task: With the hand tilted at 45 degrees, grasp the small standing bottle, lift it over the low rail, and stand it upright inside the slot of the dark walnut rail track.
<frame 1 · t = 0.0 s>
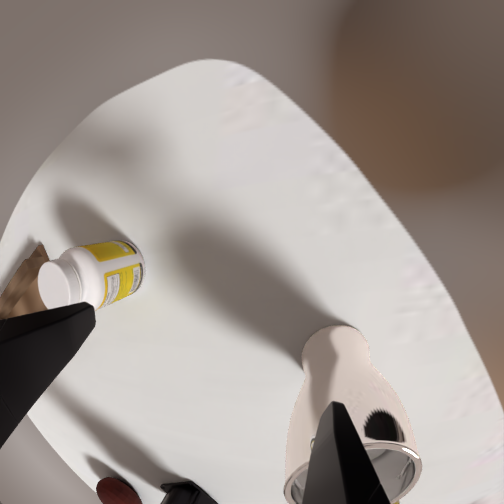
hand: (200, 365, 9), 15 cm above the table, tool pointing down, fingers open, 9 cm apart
beer glass: (335, 354, 24), on the table
walnut rail track: (39, 311, 30), on the table
supplement bottle: (125, 267, 27), on the table
potato: (129, 488, 33), on the table
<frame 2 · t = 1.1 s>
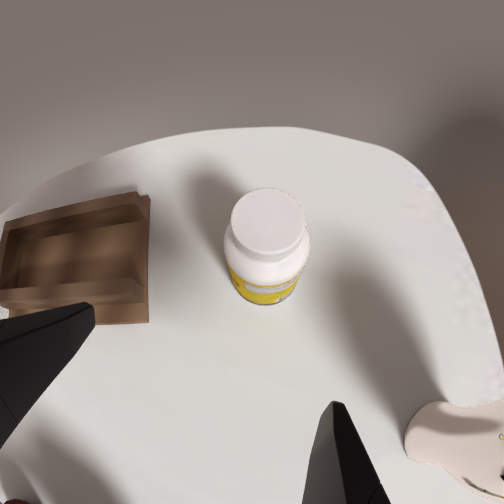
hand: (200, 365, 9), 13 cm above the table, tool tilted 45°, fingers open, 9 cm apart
beer glass: (430, 431, 18), on the table
walnut rail track: (83, 264, 25), on the table
supplement bottle: (264, 276, 24), on the table
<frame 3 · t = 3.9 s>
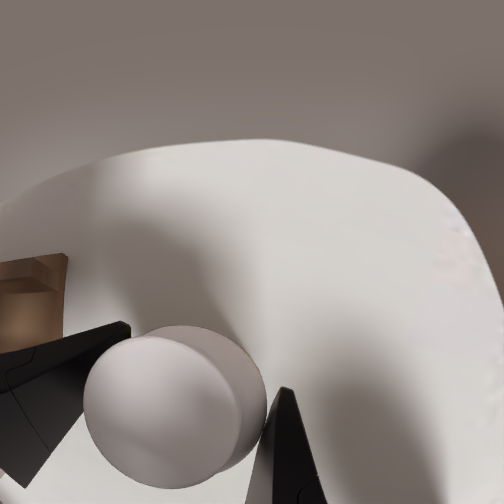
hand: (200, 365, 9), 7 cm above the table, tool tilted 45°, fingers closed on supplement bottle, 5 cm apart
walnut rail track: (1, 337, 15), on the table
supplement bottle: (213, 389, 15), on the table, touching gripper
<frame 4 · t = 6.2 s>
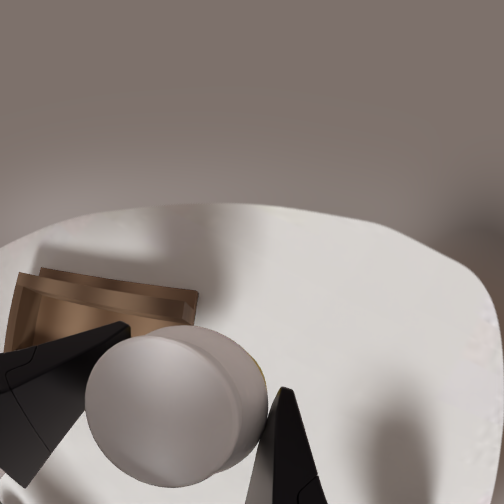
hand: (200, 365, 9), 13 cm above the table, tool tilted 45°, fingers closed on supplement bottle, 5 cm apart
walnut rail track: (110, 349, 22), on the table
supplement bottle: (216, 389, 15), point 6 cm above the table, touching gripper
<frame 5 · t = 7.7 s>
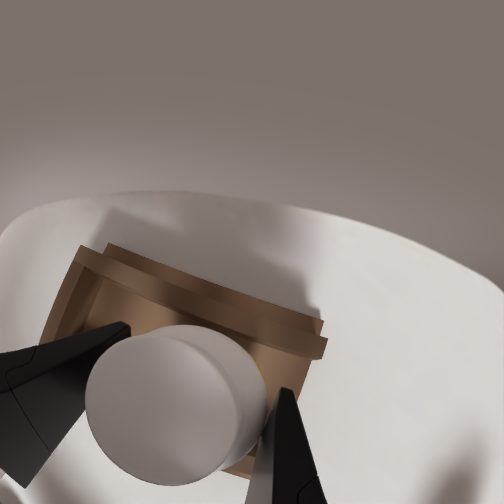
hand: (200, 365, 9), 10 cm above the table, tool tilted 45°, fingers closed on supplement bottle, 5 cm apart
walnut rail track: (194, 370, 18), on the table
supplement bottle: (216, 388, 15), point 3 cm above the table, touching gripper
when the fingers open (9 cm above the table, at t = 8.8 s): supplement bottle drops 1 cm, resting on walnut rail track.
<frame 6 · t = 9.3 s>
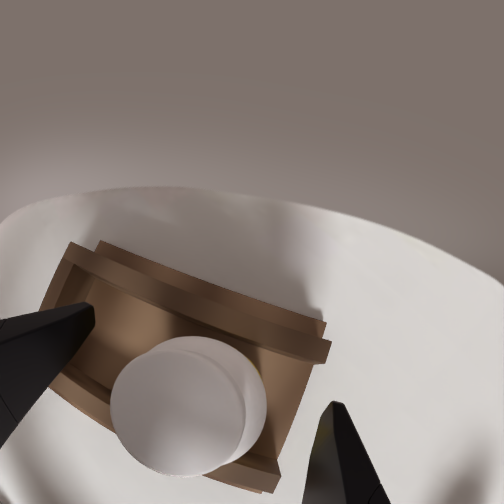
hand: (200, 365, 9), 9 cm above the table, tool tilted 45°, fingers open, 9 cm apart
walnut rail track: (188, 374, 17), on the table
supplement bottle: (217, 390, 16), point 1 cm above the table, touching walnut rail track
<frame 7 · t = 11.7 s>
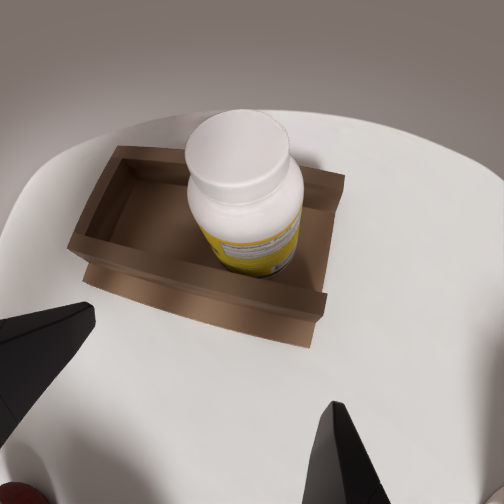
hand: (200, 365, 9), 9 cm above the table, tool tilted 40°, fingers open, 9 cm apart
walnut rail track: (227, 239, 21), on the table
supplement bottle: (255, 244, 20), point 1 cm above the table, touching walnut rail track
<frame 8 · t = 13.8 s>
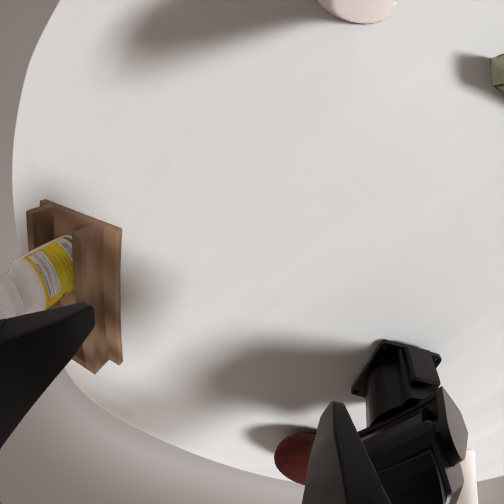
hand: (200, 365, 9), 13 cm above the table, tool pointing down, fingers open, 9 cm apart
walnut rail track: (79, 273, 27), on the table
cosmetic bottle: (456, 458, 25), on the table
supplement bottle: (75, 258, 26), point 1 cm above the table, touching walnut rail track
potato: (320, 439, 28), on the table
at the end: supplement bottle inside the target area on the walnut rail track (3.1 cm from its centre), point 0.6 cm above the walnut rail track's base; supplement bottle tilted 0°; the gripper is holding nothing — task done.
